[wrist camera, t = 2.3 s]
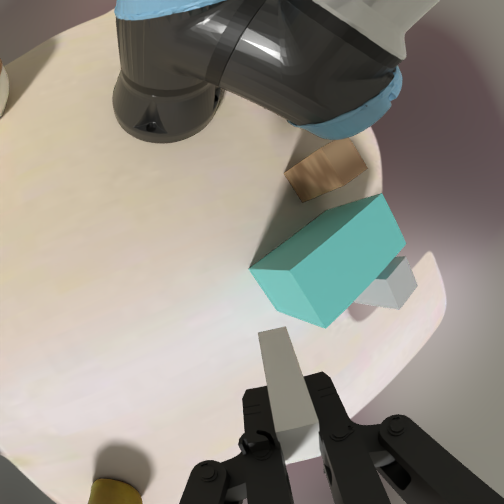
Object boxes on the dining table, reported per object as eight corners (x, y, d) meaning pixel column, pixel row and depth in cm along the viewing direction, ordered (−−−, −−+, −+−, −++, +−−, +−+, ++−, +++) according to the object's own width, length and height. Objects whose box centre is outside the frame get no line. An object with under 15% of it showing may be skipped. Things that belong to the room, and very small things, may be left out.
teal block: (248, 268, 36) (289, 270, 24) (326, 210, 40) (381, 193, 28) (276, 310, 37) (325, 328, 25) (348, 248, 41) (406, 243, 29)
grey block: (339, 277, 40) (386, 279, 30) (359, 258, 41) (405, 256, 32) (353, 302, 41) (399, 309, 31) (371, 283, 42) (417, 285, 33)
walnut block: (283, 173, 38) (320, 147, 28) (307, 159, 39) (346, 133, 30) (302, 202, 38) (344, 185, 29) (325, 187, 40) (367, 168, 30)
